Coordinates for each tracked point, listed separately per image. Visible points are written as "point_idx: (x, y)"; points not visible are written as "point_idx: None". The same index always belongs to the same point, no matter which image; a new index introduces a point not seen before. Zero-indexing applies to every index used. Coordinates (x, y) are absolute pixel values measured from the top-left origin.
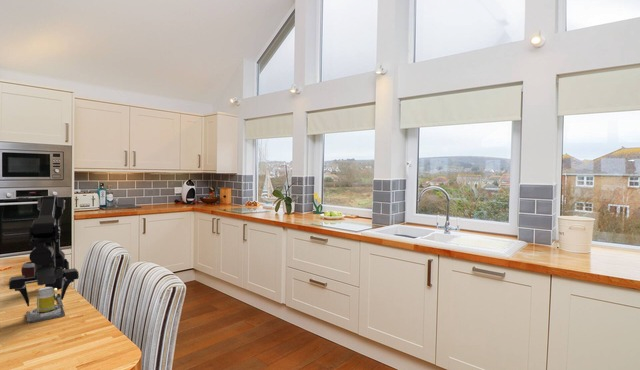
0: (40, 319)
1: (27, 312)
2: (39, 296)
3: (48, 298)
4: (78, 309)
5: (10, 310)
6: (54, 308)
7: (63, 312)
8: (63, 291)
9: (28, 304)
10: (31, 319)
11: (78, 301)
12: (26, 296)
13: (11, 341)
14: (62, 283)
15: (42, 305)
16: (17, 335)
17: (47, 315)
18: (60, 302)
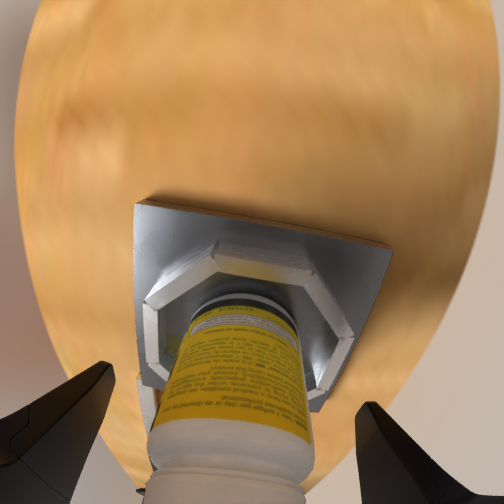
0: (313, 231)
1: (318, 404)
2: (305, 464)
3: (217, 405)
4: (67, 266)
5: (332, 456)
6: None
7: (139, 241)
8: (49, 412)
9: (376, 410)
10: (361, 271)
11: None
12: (420, 471)
13: (482, 36)
14: (52, 501)
15: (282, 359)
16: (464, 82)
17: (256, 250)
18: (150, 420)
